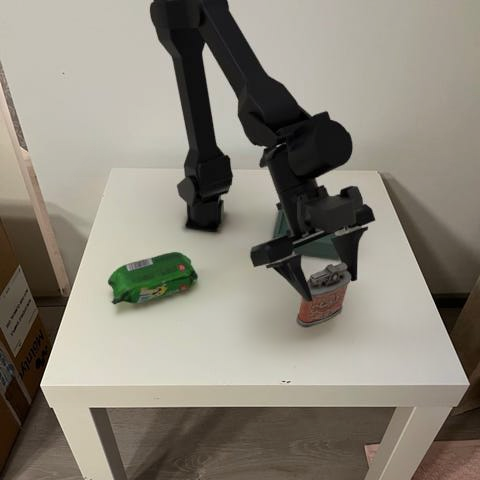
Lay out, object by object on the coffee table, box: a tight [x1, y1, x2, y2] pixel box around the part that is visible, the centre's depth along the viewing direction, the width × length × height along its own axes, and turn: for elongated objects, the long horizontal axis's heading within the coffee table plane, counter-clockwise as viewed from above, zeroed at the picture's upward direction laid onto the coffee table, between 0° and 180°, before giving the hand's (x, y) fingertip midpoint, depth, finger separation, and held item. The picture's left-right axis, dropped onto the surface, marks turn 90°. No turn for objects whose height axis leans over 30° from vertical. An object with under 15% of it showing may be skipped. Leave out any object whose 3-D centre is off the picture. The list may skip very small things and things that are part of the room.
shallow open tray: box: [272, 209, 340, 261], centre depth 95 cm, size 13×13×4 cm
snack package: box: [107, 251, 199, 305], centre depth 83 cm, size 7×16×5 cm, turn 115°
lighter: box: [296, 262, 351, 329], centre depth 73 cm, size 8×3×10 cm, turn 119°
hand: (332, 291), depth 71 cm, fingers closed on lighter, 8 cm apart
